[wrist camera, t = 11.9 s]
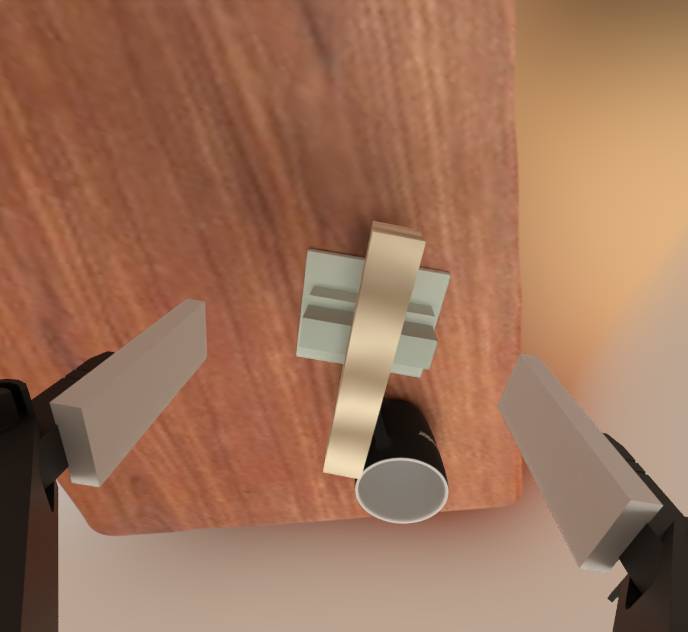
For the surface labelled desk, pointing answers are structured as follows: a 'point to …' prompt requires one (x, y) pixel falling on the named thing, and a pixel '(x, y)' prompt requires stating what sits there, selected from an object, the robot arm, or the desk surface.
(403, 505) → the mug
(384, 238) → the birch bar
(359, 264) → the ridge
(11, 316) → the desk surface
